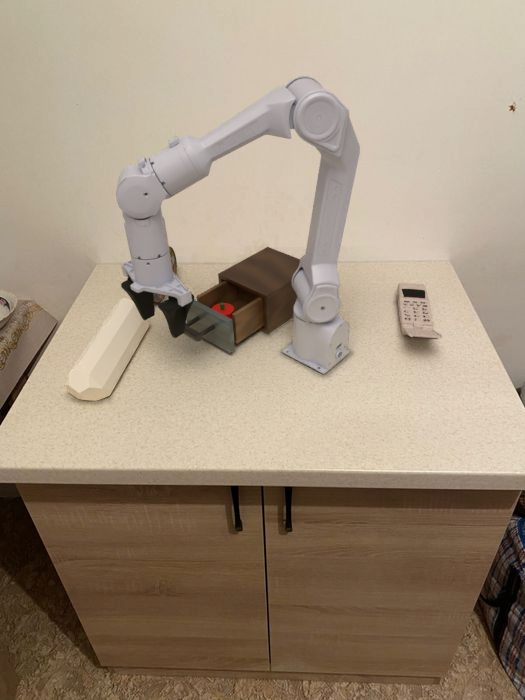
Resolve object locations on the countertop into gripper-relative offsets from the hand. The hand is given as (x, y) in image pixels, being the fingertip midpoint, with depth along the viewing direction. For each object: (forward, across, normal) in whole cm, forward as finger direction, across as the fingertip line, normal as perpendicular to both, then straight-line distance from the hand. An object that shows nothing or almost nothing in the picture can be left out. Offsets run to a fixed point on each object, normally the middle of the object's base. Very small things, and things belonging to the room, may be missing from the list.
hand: (163, 325), depth 83 cm
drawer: (+9, 0, +14) cm, 16 cm away
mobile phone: (+10, +26, +40) cm, 48 cm away
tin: (+10, -22, +16) cm, 29 cm away
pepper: (+7, 0, +13) cm, 15 cm away
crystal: (+10, -10, -5) cm, 15 cm away
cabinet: (+9, 0, +26) cm, 28 cm away
